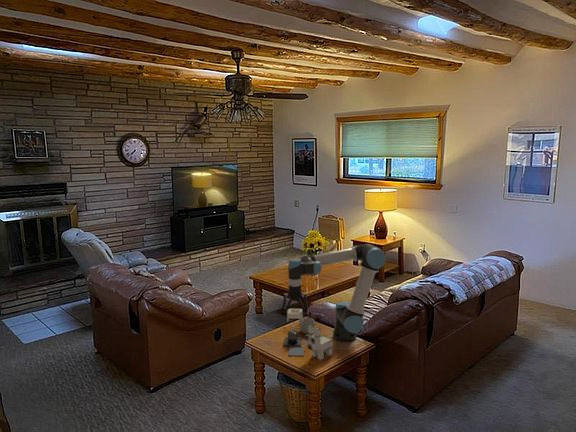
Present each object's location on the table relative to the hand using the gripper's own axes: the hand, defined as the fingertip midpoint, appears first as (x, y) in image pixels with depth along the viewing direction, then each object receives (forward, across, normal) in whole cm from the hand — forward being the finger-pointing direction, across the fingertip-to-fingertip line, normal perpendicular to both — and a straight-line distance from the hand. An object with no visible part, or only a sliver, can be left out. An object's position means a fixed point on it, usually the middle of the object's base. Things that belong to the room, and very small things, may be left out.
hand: (295, 321), depth 257 cm
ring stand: (+19, +3, -11) cm, 23 cm away
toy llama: (+20, -16, +5) cm, 26 cm away
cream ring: (-3, 0, 0) cm, 3 cm away
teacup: (+20, -5, -30) cm, 37 cm away
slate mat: (+19, -1, +1) cm, 19 cm away
